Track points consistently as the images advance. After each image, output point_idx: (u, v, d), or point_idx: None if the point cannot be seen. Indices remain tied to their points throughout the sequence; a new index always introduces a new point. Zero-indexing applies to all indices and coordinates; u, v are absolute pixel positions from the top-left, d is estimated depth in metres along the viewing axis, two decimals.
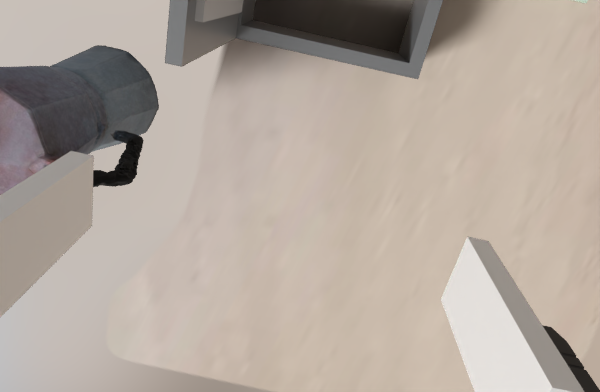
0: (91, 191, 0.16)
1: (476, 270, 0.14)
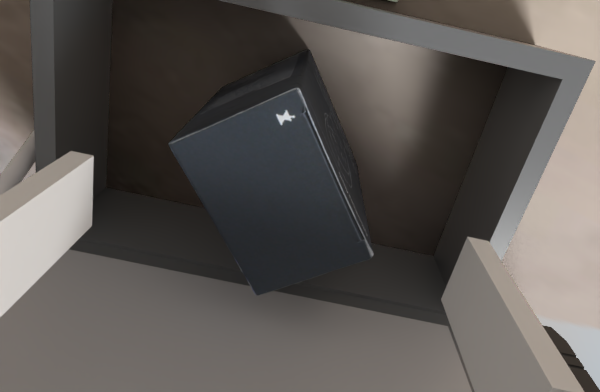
0: (91, 191, 0.16)
1: (476, 269, 0.14)
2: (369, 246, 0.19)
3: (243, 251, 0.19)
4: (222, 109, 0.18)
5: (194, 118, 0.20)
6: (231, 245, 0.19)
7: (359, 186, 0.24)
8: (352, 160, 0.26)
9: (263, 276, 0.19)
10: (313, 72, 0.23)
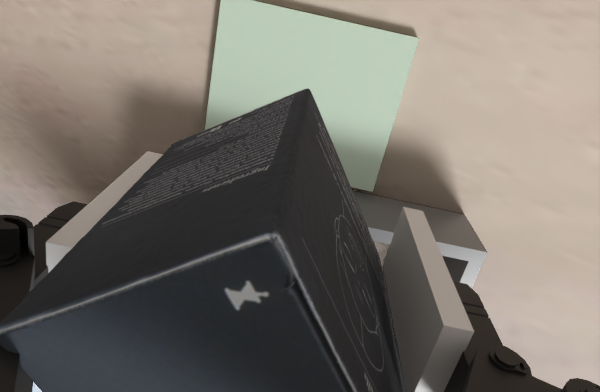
0: None
1: (406, 235, 0.16)
2: None
3: None
4: (127, 238, 0.09)
5: (86, 238, 0.10)
6: None
7: (388, 317, 0.15)
8: (375, 263, 0.16)
9: None
10: (315, 136, 0.13)
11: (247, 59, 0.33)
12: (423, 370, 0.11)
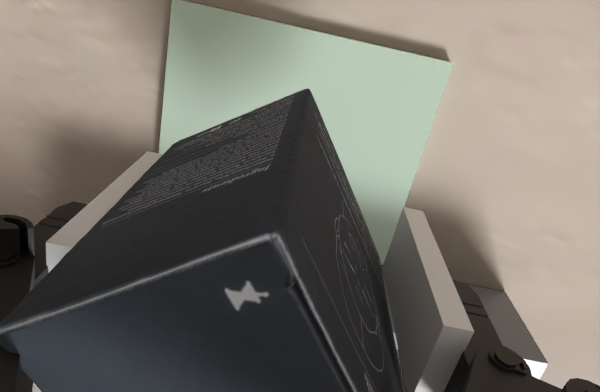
0: None
1: (406, 235, 0.16)
2: None
3: None
4: (127, 238, 0.09)
5: (86, 238, 0.10)
6: None
7: (388, 317, 0.15)
8: (375, 263, 0.16)
9: None
10: (315, 136, 0.13)
11: (211, 90, 0.24)
12: (423, 370, 0.11)
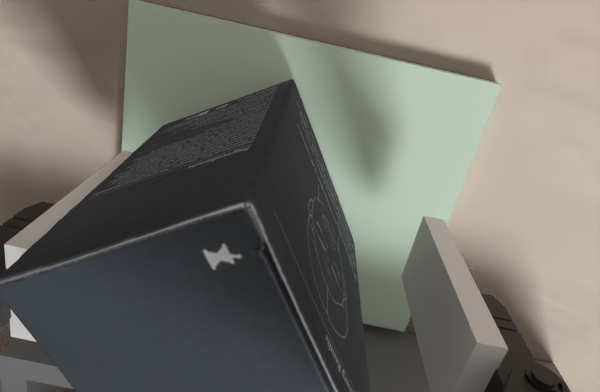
0: None
1: (428, 245, 0.15)
2: None
3: None
4: (117, 206, 0.10)
5: (78, 207, 0.11)
6: None
7: (357, 295, 0.16)
8: (348, 247, 0.17)
9: None
10: (295, 123, 0.14)
11: None
12: (454, 388, 0.11)
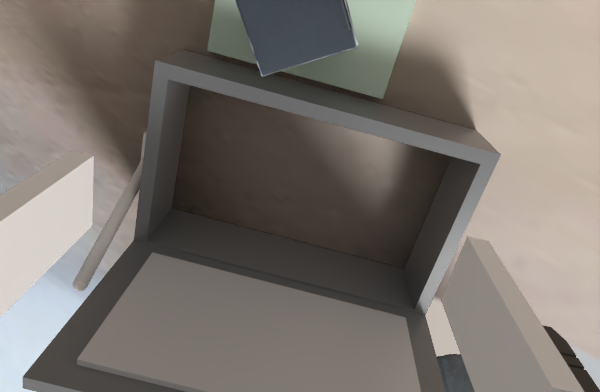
0: (91, 191, 0.16)
1: (476, 270, 0.14)
2: (355, 36, 0.24)
3: (256, 31, 0.24)
4: None
5: None
6: (248, 24, 0.24)
7: None
8: None
9: (269, 56, 0.25)
10: None
11: None
12: None
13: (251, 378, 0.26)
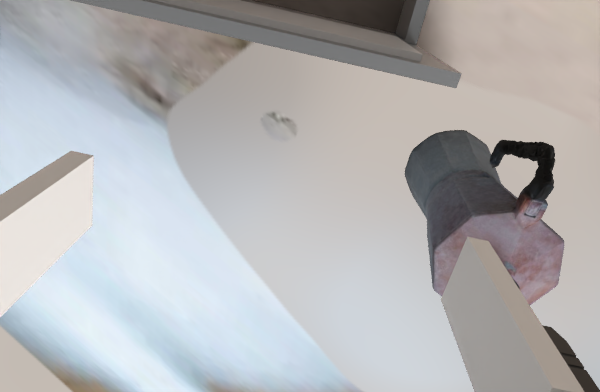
0: (91, 191, 0.16)
1: (476, 270, 0.14)
2: None
3: None
4: None
5: None
6: None
7: None
8: None
9: None
10: None
11: None
12: None
13: (243, 10, 0.27)
